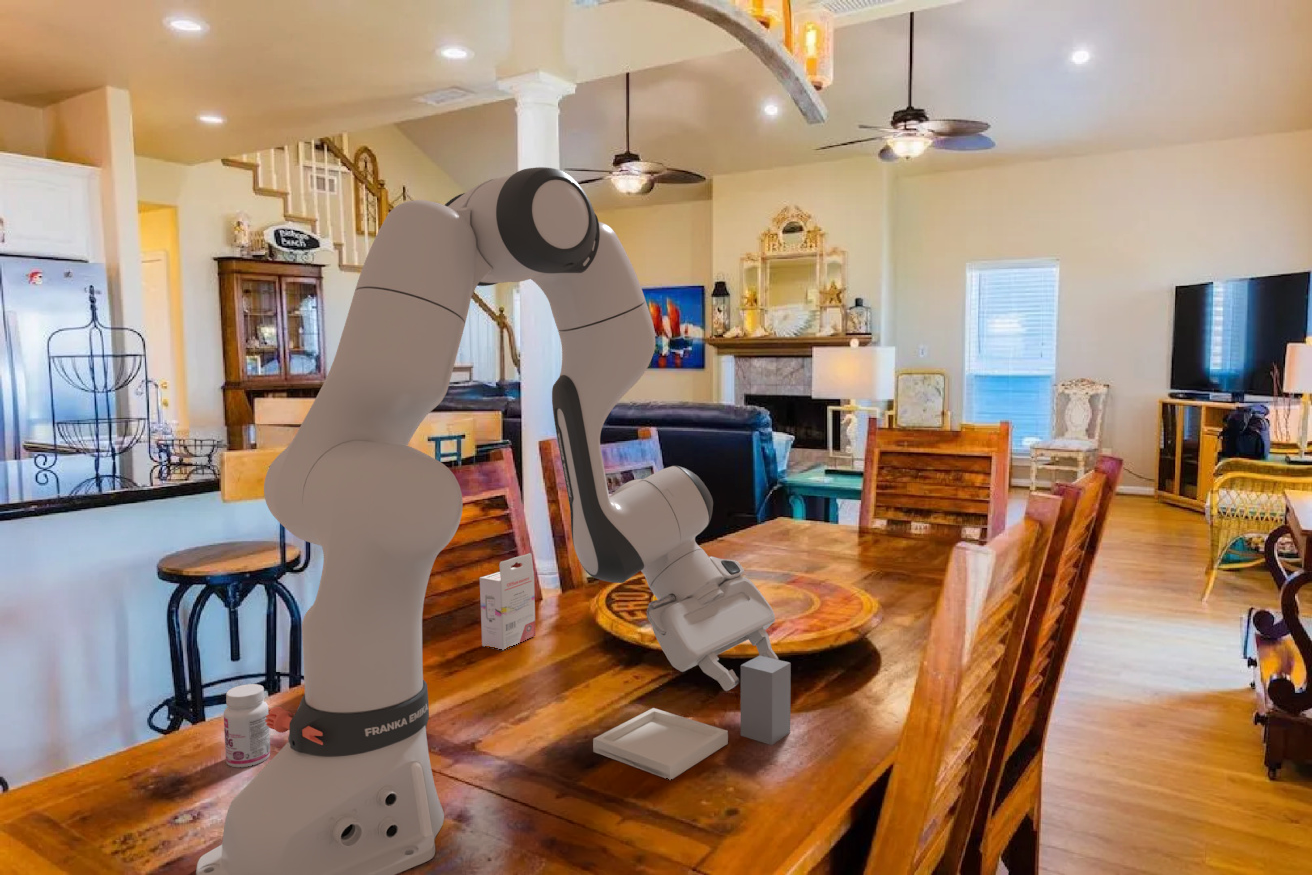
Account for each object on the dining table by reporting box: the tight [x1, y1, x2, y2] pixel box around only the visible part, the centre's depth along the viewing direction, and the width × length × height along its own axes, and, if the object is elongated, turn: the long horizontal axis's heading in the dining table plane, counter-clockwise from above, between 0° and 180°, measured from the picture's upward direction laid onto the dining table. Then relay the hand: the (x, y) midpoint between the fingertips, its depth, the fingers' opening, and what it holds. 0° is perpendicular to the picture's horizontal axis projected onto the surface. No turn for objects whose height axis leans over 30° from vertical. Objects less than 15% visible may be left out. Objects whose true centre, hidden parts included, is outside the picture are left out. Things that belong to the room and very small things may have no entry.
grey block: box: [740, 655, 792, 746], centre depth 106 cm, size 4×4×9 cm
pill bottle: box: [223, 683, 271, 768], centre depth 100 cm, size 5×5×8 cm
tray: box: [592, 707, 729, 781], centre depth 102 cm, size 12×12×2 cm
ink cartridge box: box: [479, 552, 536, 651], centre depth 142 cm, size 9×5×15 cm, turn 149°
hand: (753, 675), depth 107 cm, fingers open, 8 cm apart
